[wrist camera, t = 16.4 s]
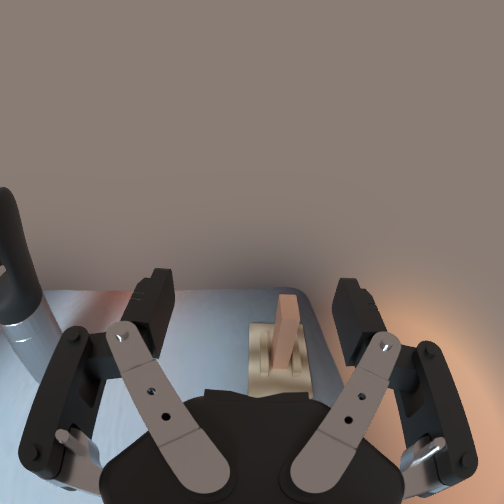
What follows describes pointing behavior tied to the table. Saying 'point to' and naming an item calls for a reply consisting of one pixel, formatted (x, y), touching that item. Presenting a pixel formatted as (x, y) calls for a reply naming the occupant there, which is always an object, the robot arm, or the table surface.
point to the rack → (276, 380)
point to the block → (284, 331)
